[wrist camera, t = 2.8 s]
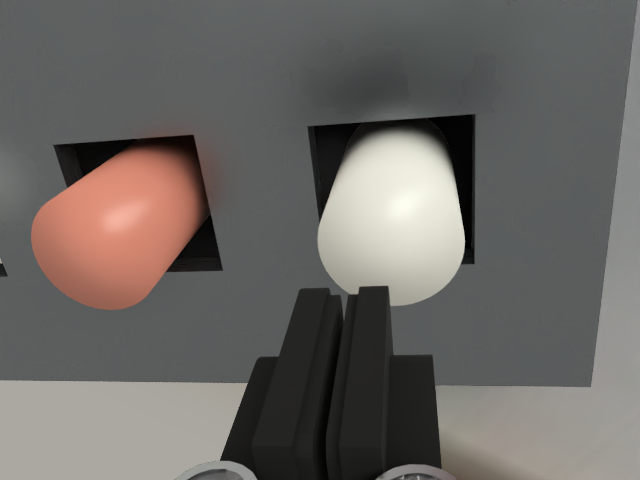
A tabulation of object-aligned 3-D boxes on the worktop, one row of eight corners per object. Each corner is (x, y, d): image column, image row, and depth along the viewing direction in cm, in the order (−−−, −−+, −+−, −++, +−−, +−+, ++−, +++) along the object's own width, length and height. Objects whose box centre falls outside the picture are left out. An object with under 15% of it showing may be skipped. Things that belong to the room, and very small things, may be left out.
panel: (581, -93, 18) (650, -111, 13) (552, 289, 24) (590, 386, 19) (-162, 5, 23) (-335, 22, 18) (-30, 300, 29) (-129, 378, 24)
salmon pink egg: (212, 124, 20) (138, 189, 14) (231, 219, 21) (170, 309, 16) (117, 131, 20) (12, 196, 15) (142, 223, 22) (55, 311, 17)
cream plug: (450, 106, 18) (464, 171, 13) (451, 209, 20) (465, 304, 15) (339, 115, 19) (309, 179, 14) (349, 214, 20) (325, 307, 15)
